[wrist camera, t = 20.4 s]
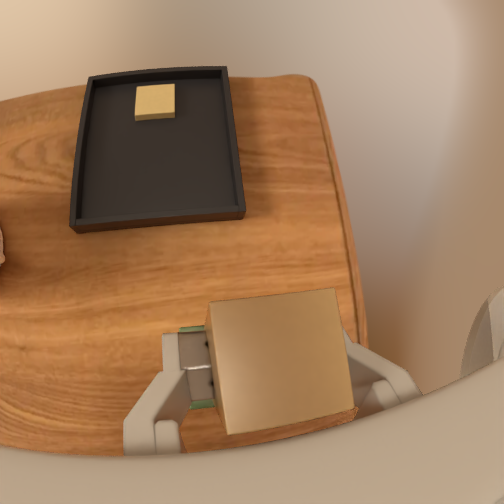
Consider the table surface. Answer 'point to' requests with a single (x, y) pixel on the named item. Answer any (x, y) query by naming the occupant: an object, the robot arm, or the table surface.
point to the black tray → (156, 153)
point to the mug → (1, 249)
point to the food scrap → (155, 102)
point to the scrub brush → (276, 360)
